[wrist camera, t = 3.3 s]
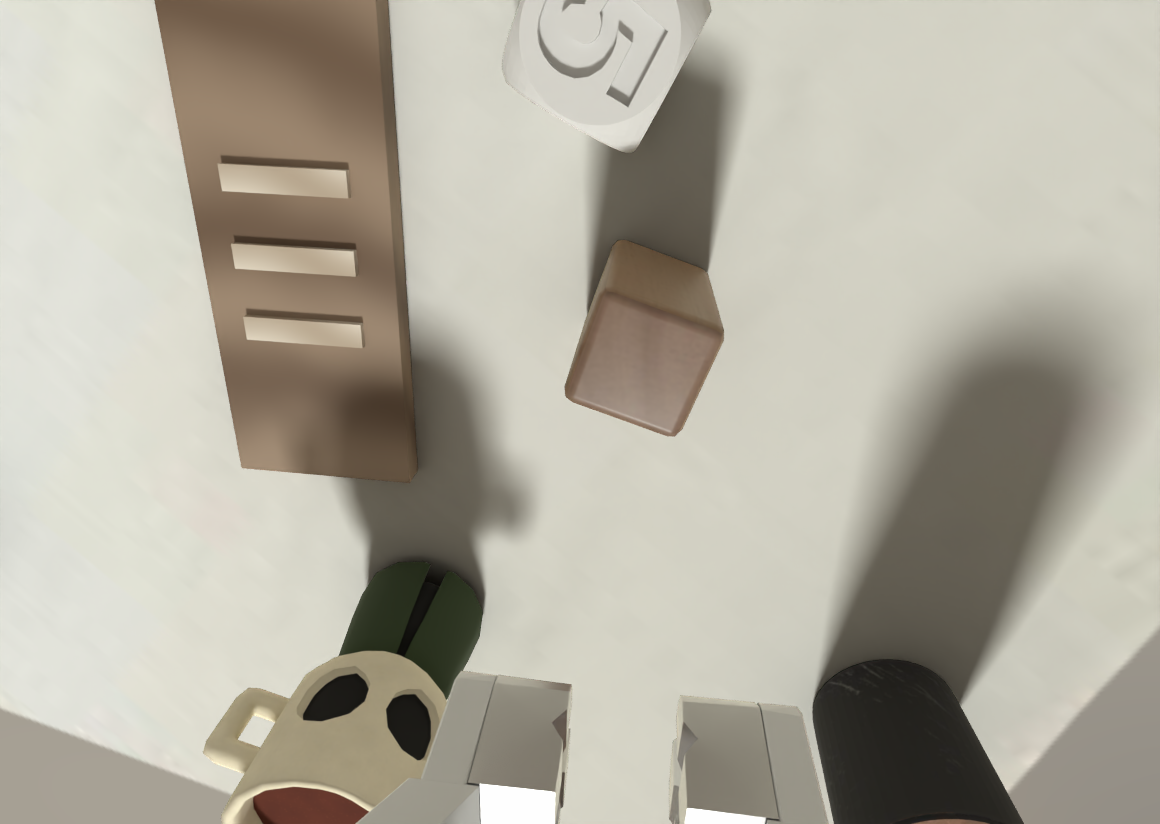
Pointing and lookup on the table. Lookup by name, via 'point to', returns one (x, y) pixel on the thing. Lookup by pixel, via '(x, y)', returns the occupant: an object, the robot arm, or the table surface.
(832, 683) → the travel mug
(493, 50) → the table surface
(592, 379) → the wooden block
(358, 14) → the board
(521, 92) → the die
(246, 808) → the character mug
